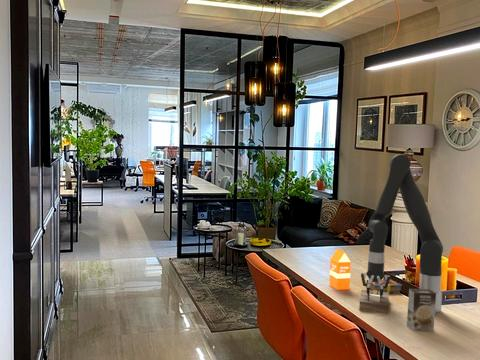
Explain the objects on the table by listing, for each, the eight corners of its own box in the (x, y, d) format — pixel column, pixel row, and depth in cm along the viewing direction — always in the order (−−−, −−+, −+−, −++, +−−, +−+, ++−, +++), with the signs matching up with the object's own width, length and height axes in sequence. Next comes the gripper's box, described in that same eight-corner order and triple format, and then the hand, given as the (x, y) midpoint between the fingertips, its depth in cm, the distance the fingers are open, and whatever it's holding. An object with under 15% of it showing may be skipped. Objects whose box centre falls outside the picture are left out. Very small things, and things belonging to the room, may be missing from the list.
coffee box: (412, 331, 195) (414, 293, 194) (406, 325, 202) (408, 288, 201) (434, 331, 196) (436, 293, 194) (427, 325, 202) (429, 288, 201)
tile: (369, 298, 230) (369, 293, 231) (379, 299, 229) (380, 295, 229) (368, 301, 221) (368, 296, 221) (379, 302, 220) (380, 298, 220)
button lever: (372, 299, 233) (372, 290, 234) (376, 299, 233) (376, 290, 233) (372, 301, 224) (372, 292, 225) (376, 302, 224) (376, 293, 224)
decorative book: (365, 287, 256) (366, 278, 256) (394, 287, 258) (394, 278, 258) (374, 294, 245) (375, 284, 244) (404, 293, 247) (404, 284, 247)
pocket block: (360, 297, 238) (361, 289, 238) (388, 300, 234) (388, 292, 234) (359, 310, 219) (359, 301, 219) (388, 313, 216) (389, 304, 215)
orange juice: (336, 289, 250) (338, 252, 248) (329, 284, 258) (330, 248, 257) (349, 288, 252) (351, 251, 250) (342, 284, 260) (343, 248, 259)
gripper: (391, 260, 228) (390, 295, 230) (361, 257, 232) (359, 291, 234) (392, 264, 221) (390, 299, 222) (360, 261, 225) (358, 296, 226)
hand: (374, 295), depth 228 cm, fingers closed on tile, 5 cm apart
